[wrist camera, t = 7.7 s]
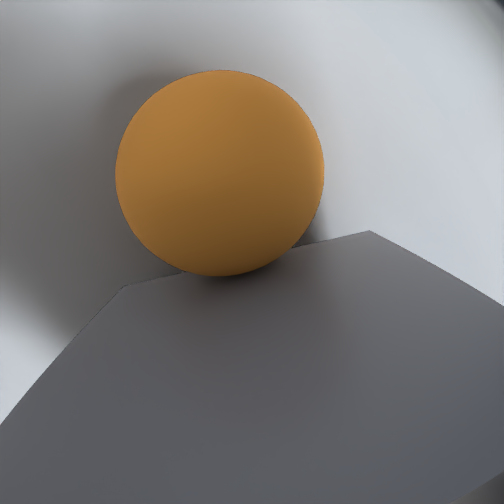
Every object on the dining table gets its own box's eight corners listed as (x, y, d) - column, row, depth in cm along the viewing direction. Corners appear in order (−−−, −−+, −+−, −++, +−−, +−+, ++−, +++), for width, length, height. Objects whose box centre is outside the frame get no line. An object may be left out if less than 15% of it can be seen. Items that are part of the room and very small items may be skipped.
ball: (295, 143, 10) (289, 19, 6) (336, 277, 9) (380, 176, 4) (159, 174, 11) (95, 71, 6) (167, 311, 9) (56, 251, 4)
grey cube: (369, 230, 9) (603, 378, 1) (378, 412, 11) (449, 567, 3) (124, 285, 9) (-42, 482, 1) (198, 448, 11) (177, 613, 3)
